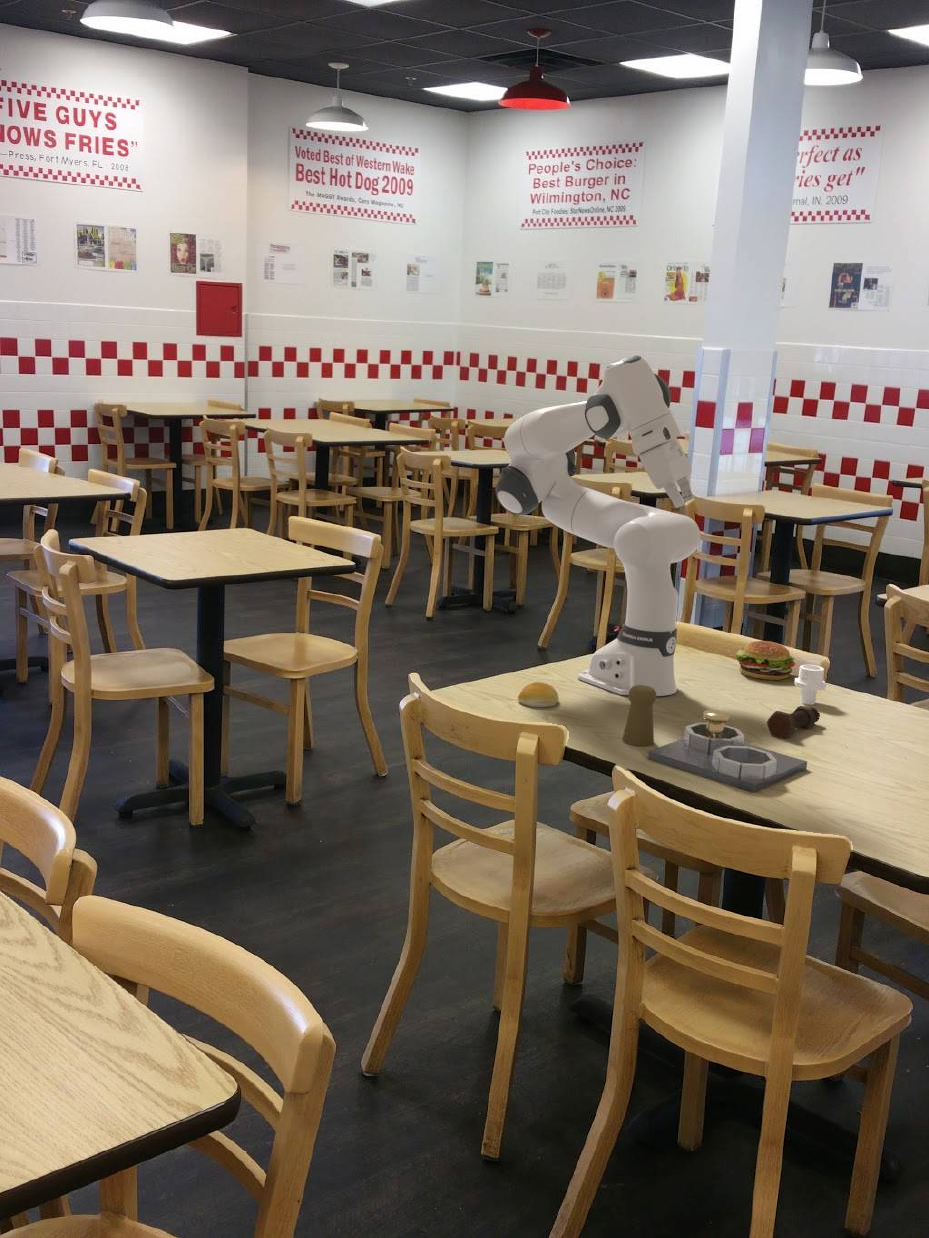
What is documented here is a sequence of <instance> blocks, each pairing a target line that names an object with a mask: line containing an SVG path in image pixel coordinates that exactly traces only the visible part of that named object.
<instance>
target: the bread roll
mask: <svg viewBox="0 0 929 1238" xmlns="http://www.w3.org/2000/svg"><path fill="white" fill-rule="evenodd" d="M517 700H518V703H520V704H522V705H524V706H527V707H531V708H551V707H554V706H556V705H557V703H558V702H559V694H558V692H557V690H556V689H555V688H554V687H553V686H552V685H550V684H548V683H547V682H546V683H545V682H540V681H538V682H537V681H535V682H534V681H533V682H531V683H528V684H527V685H526V686H524V687H523V688H522V689H521V691H520V693H519V694H518V696H517Z"/></svg>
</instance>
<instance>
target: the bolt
mask: <svg viewBox="0 0 929 1238" xmlns="http://www.w3.org/2000/svg"><path fill="white" fill-rule="evenodd" d="M820 717H821V713H820V712H819V710H817V709H816V708H814V707H808V706H805V705H800V706H797V707H796V709H795V710H794V711H793V712H792V713H788V712H784V711H781V710H776V711H774V712H773V713H772V714H771V715H770V717H769V718H768V719H767V721H766V722H767V728H768V732H769V733H770V734H771V736H773V737H776V738H779V739H783V740H785V739H789V738H790V737H791V735H792V734H793V733H794V731H796V729H803V730H810V729H811V728H812V727H813V726H814V725H815V723H817V722H818V721H819V720H820Z"/></svg>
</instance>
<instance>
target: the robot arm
mask: <svg viewBox="0 0 929 1238" xmlns="http://www.w3.org/2000/svg"><path fill="white" fill-rule="evenodd" d="M602 379H603V380H602V382H601V384H600V385H599V386H598V388H597V389H596V391H595V392H594V393H593V394H592V395H590V396H589V397H588V399H587V400H586V401H585V400H584V401H580V402H573V403H568V404H561V405H552V406H549V407H548V406H547V407H543V408H539V409H536V410H534V411H531V412H528V413H527V414H525V415H522V416H521V417H519V418H518V419H516V420H515V421H514V422H513V423H511V424H510V425H509V426H508V427H507V429H506V431H505V433H504V436H503V437H504V438H503V445H504V448H505V450H506V453H507V454H508V456H509V457H510V462H509V464H508V465H507V466H506V467H502V469H501V473H500V476H499V477H498V480H497V482H496V486H495V496H496V499H497V501H498V502H499V505H501V506H502V507H503V508H504V510H506V511H507V512H509V513H511V514H513V515H516V516H525V515H529V514H530V513H531V512H533V511H534V510H535V509H536V508H537V507H538V506H539V504H540V503H541V511H542V514H543V516H544V517H545V518H546V520H547V521H549V522H550V523H552V524H553V525H555V526H556V527H558V528H560V529H562V530H564V531H565V532H568V533H570V534H572V535H574V536H577V537H578V538H582V539H584V540H587V541H589V542H592V543H594V544H597V545H600V546H602V547H604V548H605V547H606V548H608V549H609V548H610V549H614V552H615V554H616V556H617V558H618V559H619V561H620V562H621V563H622V565H623V569H624V573H625V579H626V589H627V598H626V611H625V622H623V623H620V625H617V626H614V628H616V629H614V633H615V632H618V634H617V637H616V638H615V639H613V640H612V641H610V642H609V643H607V644H605V645H604V646H603V647H601V648H599V649H597V650H596V651H595V652H594V653H593V654H592V656H591V658H590V659H591V660H590V663H589V666H588V667H589V668H587V669H584V670H582V671H581V672H579V673H578V677H577V679H578V680H581V681H583V682H584V683H585V682H586V683H588V684H591V685H594V686H596V687H599V688H602V689H605V690H607V691H610V692H612V693H615V694H618V695H620V696H629V691H630V689H631V688H632V687H633V686H635V685H646V686H650V687H652V688H653V689H654V690H655V692H656V697H664V696H671V695H673V694H676V693H677V692H678V689H677V685H676V677H675V662H674V660H675V659H674V658H675V655H674V654H675V652H676V648H677V647H676V646H677V638H678V629H677V625H676V624H677V617H678V616H677V614H678V608H679V607H678V604H679V593H678V591H677V589H676V588H675V587H674V584H673V579H672V573H671V565H672V564H674V563H679V562H681V561H683V560H685V559H687V558H688V557H690V556H691V555H692V554H694V553H695V552H696V550H697V549H698V548H699V545H700V542H701V531H700V528H699V526H698V524H697V522H696V521H695V520H694V519H692V518H691V517H690V516H687V515H684V514H680V513H676V512H672V511H668V510H665V509H662V508H661V509H660V508H657V507H653V506H649V505H645V504H639V503H636V502H630V501H627V500H624V499H620V498H619V497H618V498H617V497H615V496H611V495H609V494H606V493H603V492H601V491H598V490H595V489H592V488H589V487H586V486H582V485H580V484H578V483H576V482H575V481H574V480H573V479H572V477H573V476H574V475H575V474H576V473H577V471H578V470H577V469H578V467H577V465H576V454H575V452H576V451H575V448H576V447H578V446H579V445H580V444H582V443H583V442H585V441H587V440H588V439H591V438H592V437H593V436H596V437H599V438H600V439H602V440H603V439H604V440H608V439H609V440H610V439H614V438H617V437H619V436H622V435H624V434H627V433H628V435H629V436H630V438H631V448H632V451H633V453H634V455H635V456H639V460H640V462H641V464H642V466H643V468H644V470H645V472H646V473H647V476H648V477H649V479H650V482H651V484H653V486H654V487H655V488H656V489H657V490H661V489H663V488H664V490H665V493H666V494H667V496H668V498H669V499H670V501H672V504H673V506H674V508H675V509H678V508H681V507H683V506H684V505H685V503H686V502H690V501H692V500H693V499H694V498H695V496H694V493H693V490H692V487H691V482H690V479H689V477H688V475H690V474H692V467H691V464H690V462H689V460H688V458H687V455H686V454H685V451H684V449H683V447H682V446H681V444H680V442H679V441H678V440H677V439H676V438H679V437H680V436H682V434H681V431H680V428H679V427H678V423H677V422H676V420H675V418H674V415H673V413H672V411H671V409H670V407H671V401H672V400H671V399H672V396H671V395H672V393H671V389H670V387H669V385H668V383H667V382H666V381H665V380H664V378H662V377H661V376H660V375H658V374H656V373H654V372H653V369H652V368H651V366H650V365H649V363H648V362H647V360H646V359H645V358H644V357H643V356H642V355H633V356H631V355H630V356H628V357H625V358H623V359H619V360H616V361H614V362H612V363H610V364H608V365H607V366H606V367H605V368H604V376H603V378H602ZM678 487H679V489H680V490H679V489H678ZM680 492H681V493H680Z"/></svg>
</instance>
